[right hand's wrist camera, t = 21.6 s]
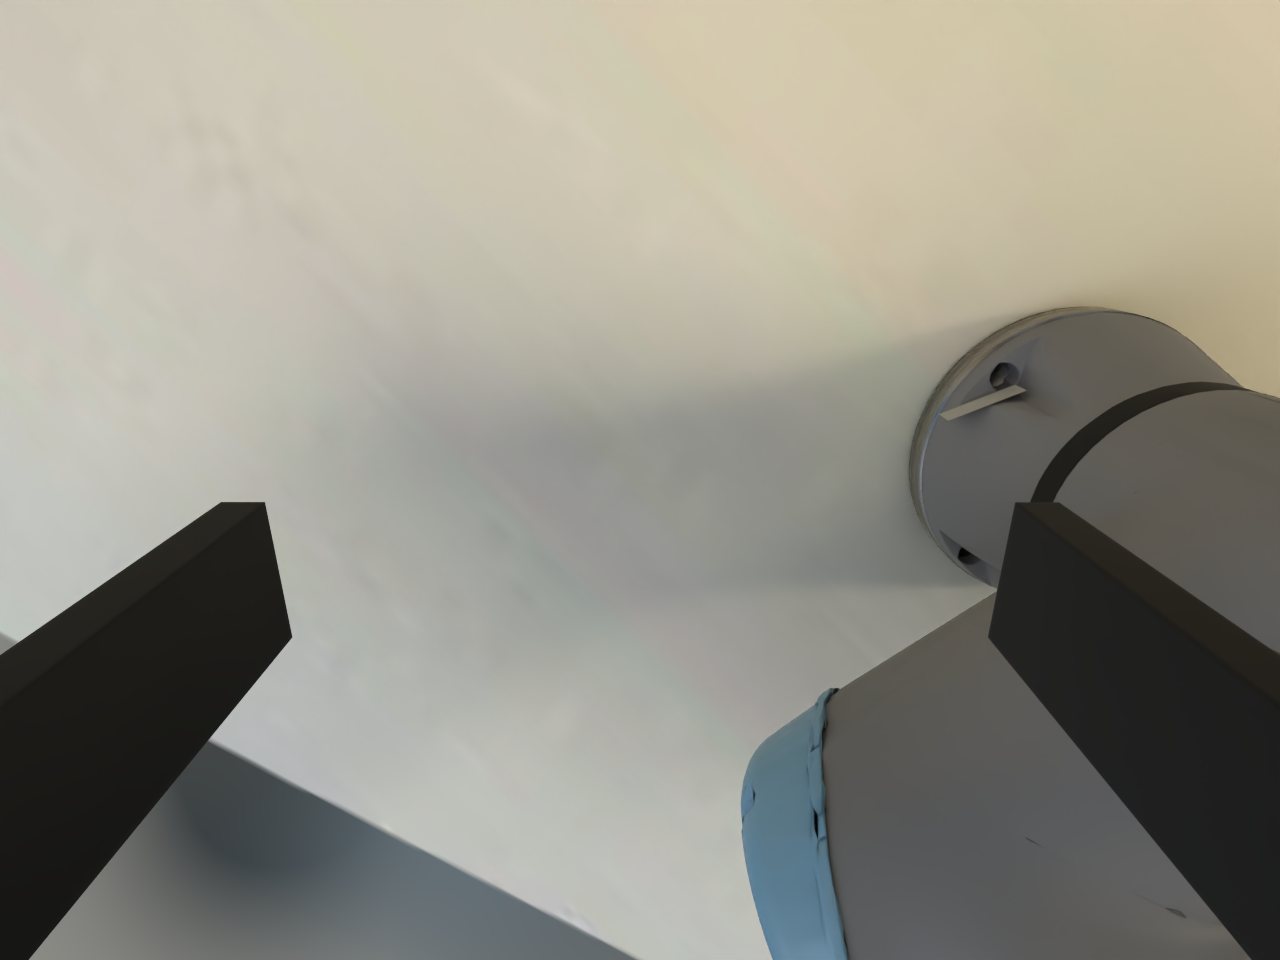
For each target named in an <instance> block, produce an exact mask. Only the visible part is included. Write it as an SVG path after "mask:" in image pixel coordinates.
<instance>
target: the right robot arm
mask: <svg viewBox="0 0 1280 960" xmlns="http://www.w3.org/2000/svg"><path fill="white" fill-rule="evenodd" d="M909 480H910V488H911V494H912V498H913V503H914V506H915V509H916V511H917V514H918V516H919V518H920V520H921V522H922V524H923V526H924V528H925V529H926V531H927V532H928V534H929V535H930V537H931V538H932V539H933V540H934V541H935V543H936V544H937V545H938V546H939V547H940V548H941V549H942V551H943V552H944V553H945V554H946V555H947V556H948V557H949V558H950V559H951V560H952V561H953V562H954V563H955V564H956V565H957V566H958V567H960V568H961V569H962V570H964V571H965V572H966V573H968V574H969V575H971V576H973V577H974V578H976V579H978V580H980V581H982V582H984V583H986V584H988V585H990V586H992V587H995V588H997V592H995V593H993V594H992V595H990V596H989V597H987V598H985V599H984V600H982V601H981V602H979V603H977V604H976V605H974V606H973V607H971V608H969V609H968V610H966V611H965V612H963V613H961V614H960V615H958V616H957V617H955V618H953V619H952V620H950V621H949V622H947V623H945V624H944V625H942V626H941V627H939V628H937V629H936V630H934V631H933V632H931V633H929V634H928V635H926V636H924V637H923V638H921V639H920V640H918V641H916V642H915V643H913V644H912V645H910V646H908V647H907V648H905V649H904V650H902V651H900V652H899V653H897V654H896V655H894V656H892V657H891V658H889V659H888V660H886V661H884V662H883V663H881V664H880V665H878V666H876V667H875V668H873V669H872V670H870V671H868V672H867V673H865V674H864V675H862V676H860V677H859V678H857V679H856V680H854V681H852V682H851V683H849V684H848V685H846V686H844V687H843V688H841V689H839V688H834V689H833V688H830V689H828V690H827V691H825V692H823V693H822V694H821V695H820V696H819V698H818V700H817V702H816V704H815V705H814V706H812V707H811V708H809V709H808V710H807V711H805V712H804V713H802V714H801V715H799V716H798V717H797V718H795V719H794V720H792V721H791V722H790V723H788V724H787V725H785V726H784V727H782V728H781V729H780V730H778V731H777V732H775V733H774V734H773V735H771V736H770V737H768V738H767V739H766V740H765V741H764V742H763V743H762V744H761V745H760V746H759V747H758V748H757V750H756V751H755V753H754V754H753V756H752V758H751V760H750V762H749V764H748V767H747V770H746V774H745V777H744V780H743V787H742V795H741V814H742V824H743V825H742V826H743V827H742V840H743V848H744V855H745V861H746V867H747V872H748V877H749V881H750V886H751V890H752V894H753V898H754V902H755V906H756V909H757V913H758V916H759V920H760V923H761V926H762V930H763V933H764V936H765V939H766V942H767V945H768V947H769V950H770V953H771V956H772V959H773V960H1280V398H1277V397H1274V396H1270V395H1266V394H1262V393H1258V392H1255V391H1252V390H1248V389H1245V388H1243V387H1242V386H1241V385H1240V384H1239V383H1238V382H1237V381H1236V380H1235V379H1233V378H1232V377H1231V376H1230V375H1229V374H1228V373H1227V372H1226V371H1224V370H1223V369H1222V368H1221V367H1220V366H1219V365H1218V364H1217V363H1215V362H1214V361H1213V360H1212V359H1211V358H1210V357H1208V356H1207V355H1206V354H1205V353H1204V352H1203V351H1202V350H1201V349H1200V348H1199V347H1198V346H1197V345H1195V344H1194V343H1193V342H1192V341H1191V340H1189V339H1188V338H1187V337H1185V336H1184V335H1182V334H1181V333H1179V332H1178V331H1177V330H1175V329H1173V328H1171V327H1169V326H1168V325H1166V324H1164V323H1161V322H1159V321H1156V320H1154V319H1151V318H1148V317H1144V316H1141V315H1137V314H1133V313H1128V312H1123V311H1118V310H1113V309H1106V308H1098V307H1073V308H1064V309H1058V310H1052V311H1048V312H1044V313H1040V314H1037V315H1034V316H1031V317H1028V318H1025V319H1023V320H1020V321H1018V322H1016V323H1014V324H1011V325H1009V326H1007V327H1006V328H1004V329H1002V330H1000V331H998V332H996V333H995V334H993V335H992V336H990V337H989V338H987V339H986V340H984V341H983V342H981V343H980V344H979V345H977V346H976V347H975V348H974V349H972V350H971V351H970V352H969V353H967V354H966V355H965V356H964V357H963V358H962V359H961V360H960V361H959V362H958V363H957V364H956V365H955V366H954V367H953V368H952V369H951V371H950V372H949V373H948V374H947V375H946V376H945V378H944V379H943V380H942V382H941V383H940V384H939V386H938V387H937V388H936V390H935V392H934V393H933V395H932V396H931V398H930V399H929V401H928V403H927V405H926V407H925V409H924V411H923V413H922V415H921V418H920V420H919V423H918V425H917V428H916V432H915V435H914V438H913V443H912V448H911V453H910V463H909ZM291 638H292V634H291V629H290V624H289V619H288V614H287V609H286V604H285V599H284V594H283V589H282V584H281V579H280V575H279V570H278V565H277V560H276V555H275V550H274V545H273V540H272V535H271V530H270V525H269V520H268V515H267V511H266V506H265V502H221V503H219V504H218V505H216V506H215V507H213V508H212V509H211V510H209V511H208V512H206V513H205V514H203V515H202V516H200V517H199V518H198V519H196V520H195V521H193V522H192V523H190V524H189V525H188V526H186V527H185V528H183V529H182V530H180V531H179V532H177V533H176V534H175V535H173V536H172V537H170V538H169V539H167V540H166V541H164V542H163V543H162V544H160V545H159V546H157V547H156V548H154V549H153V550H151V551H150V552H149V553H147V554H146V555H144V556H143V557H141V558H140V559H138V560H137V561H136V562H134V563H133V564H131V565H130V566H128V567H127V568H125V569H124V570H123V571H121V572H120V573H118V574H117V575H115V576H114V577H112V578H111V579H110V580H108V581H107V582H105V583H104V584H102V585H101V586H99V587H98V588H97V589H95V590H94V591H92V592H91V593H89V594H88V595H86V596H85V597H84V598H82V599H81V600H79V601H78V602H76V603H75V604H73V605H72V606H71V607H69V608H68V609H66V610H65V611H63V612H62V613H60V614H59V615H58V616H56V617H55V618H53V619H52V620H50V621H49V622H47V623H46V624H45V625H43V626H42V627H40V628H39V629H37V630H36V631H35V632H33V633H32V634H30V635H29V636H27V637H26V638H24V639H23V640H22V641H20V642H19V643H17V644H16V645H14V646H13V647H11V648H10V649H9V650H7V651H6V652H4V653H3V654H1V655H0V960H29V959H30V957H31V956H32V955H33V954H34V952H35V951H36V950H37V949H38V948H39V946H40V945H41V944H42V943H43V941H44V940H45V939H46V938H47V937H48V935H49V934H50V933H51V932H52V930H53V929H54V928H55V927H56V926H57V924H58V923H59V922H60V921H61V919H62V918H63V917H64V916H65V915H66V913H67V912H68V911H69V910H70V908H71V907H72V906H73V905H74V904H75V902H76V901H77V900H78V899H79V897H80V896H81V895H82V894H83V893H84V891H85V890H86V889H87V888H88V886H89V885H90V884H91V883H92V882H93V880H94V879H95V878H96V877H97V875H98V874H99V873H100V872H101V870H102V869H103V868H104V867H105V866H106V864H107V863H108V862H109V861H110V860H111V858H112V857H113V856H114V855H115V853H116V852H117V851H118V850H119V848H120V847H121V846H122V845H123V844H124V842H125V841H126V840H127V839H128V838H129V836H130V835H131V834H132V833H133V831H134V830H135V829H136V828H137V826H138V825H139V824H140V823H141V822H142V820H143V819H144V818H145V817H146V815H147V814H148V813H149V812H150V811H151V809H152V808H153V807H154V806H155V804H156V803H157V802H158V801H159V800H160V798H161V797H162V796H163V795H164V793H165V792H166V791H167V790H168V789H169V787H170V786H171V785H172V784H173V782H174V781H175V780H176V779H177V778H178V776H179V775H180V774H181V773H182V771H183V770H184V769H185V768H186V767H187V765H188V764H189V763H190V762H191V760H192V759H193V758H194V757H195V755H196V754H197V753H198V752H199V751H200V749H201V748H202V747H203V746H204V745H205V743H206V742H207V741H208V740H209V738H210V737H211V736H212V735H213V734H214V732H215V731H216V730H217V729H218V727H219V726H220V725H221V724H222V723H223V721H224V720H225V719H226V718H227V716H228V715H229V714H230V713H231V712H232V710H233V709H234V708H235V707H236V705H237V704H238V703H239V702H240V701H241V699H242V698H243V697H244V696H245V694H246V693H247V692H248V691H249V690H250V688H251V687H252V686H253V685H254V683H255V682H256V681H257V680H258V679H259V677H260V676H261V675H262V674H263V672H264V671H265V670H266V669H267V668H268V666H269V665H270V664H271V663H272V661H273V660H274V659H275V658H276V657H277V655H278V654H279V653H280V652H281V650H282V649H283V648H284V647H285V646H286V644H287V643H288V642H289V641H290V639H291Z"/></svg>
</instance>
